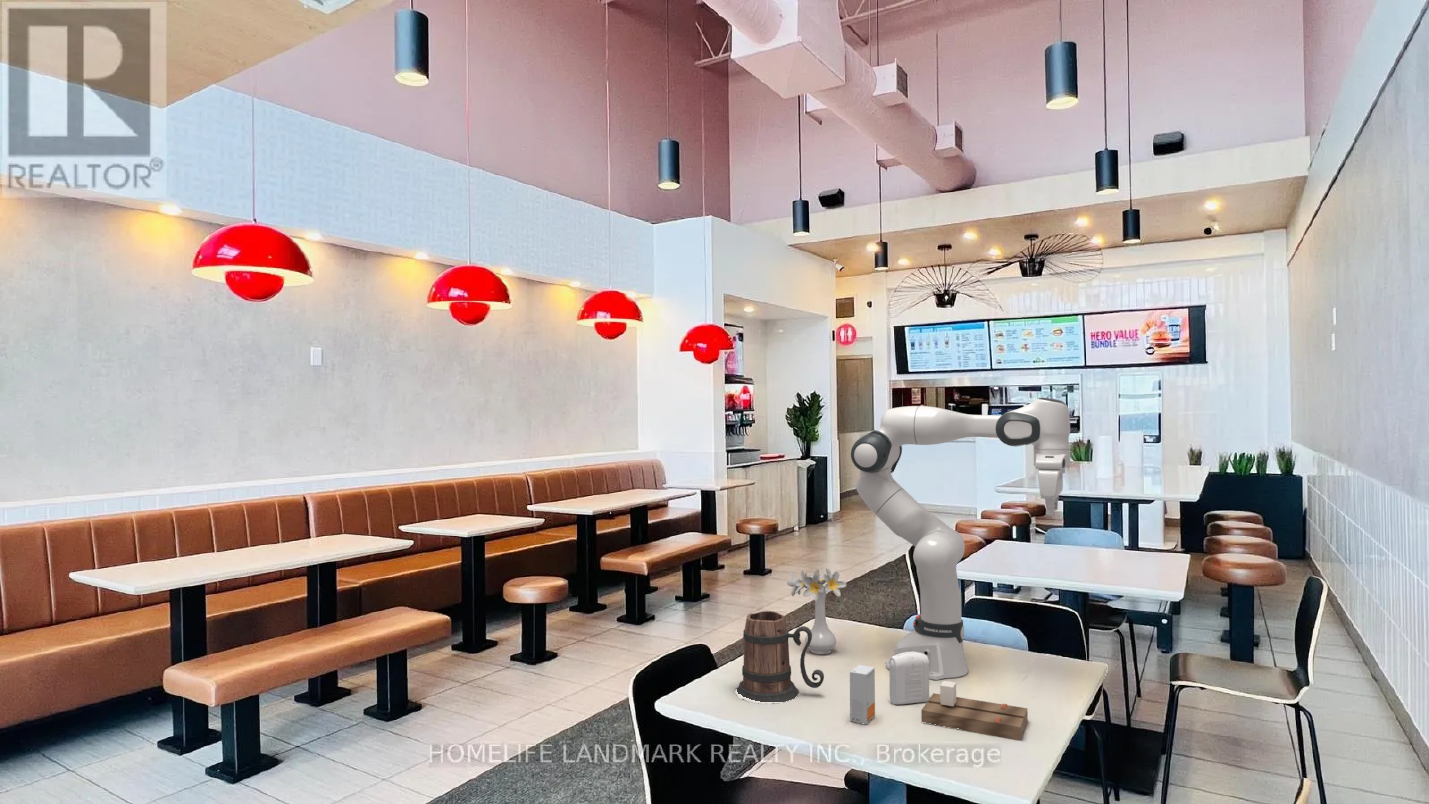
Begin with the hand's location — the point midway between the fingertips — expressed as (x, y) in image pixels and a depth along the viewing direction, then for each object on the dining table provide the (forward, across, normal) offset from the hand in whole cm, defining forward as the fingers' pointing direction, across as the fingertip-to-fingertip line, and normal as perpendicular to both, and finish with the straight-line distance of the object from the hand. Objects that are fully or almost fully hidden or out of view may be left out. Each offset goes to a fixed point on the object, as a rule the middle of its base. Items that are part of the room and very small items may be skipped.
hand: (1052, 512), depth 208 cm
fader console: (+46, +31, -14) cm, 58 cm away
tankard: (+47, +34, -63) cm, 86 cm away
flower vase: (+47, -2, -66) cm, 81 cm away
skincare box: (+47, +41, -38) cm, 73 cm away
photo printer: (+47, +25, -31) cm, 62 cm away
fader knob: (+44, +31, -20) cm, 58 cm away
